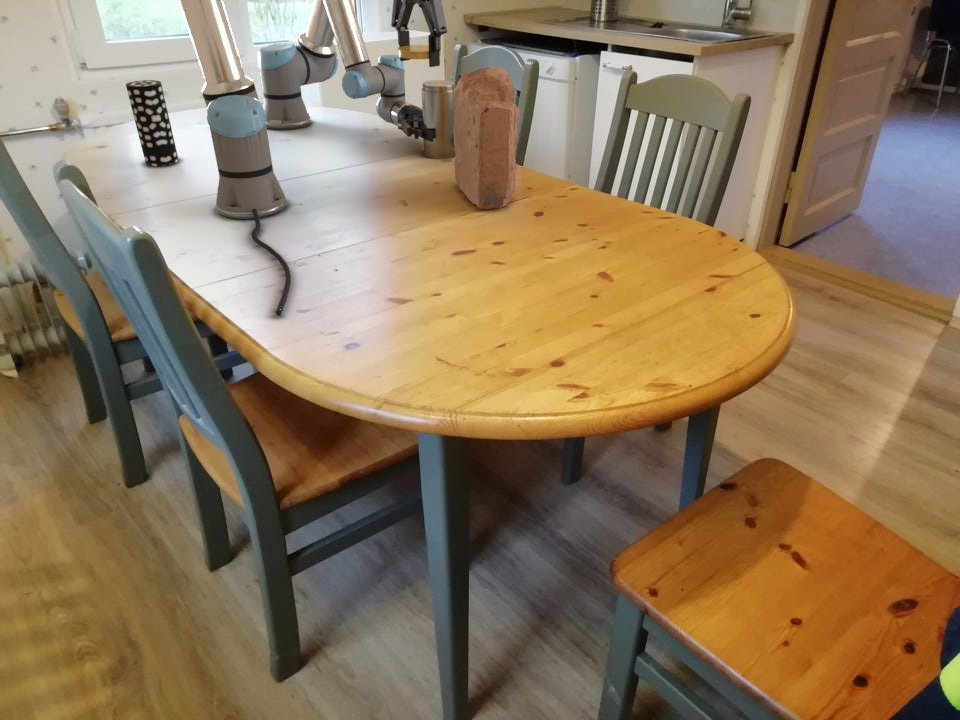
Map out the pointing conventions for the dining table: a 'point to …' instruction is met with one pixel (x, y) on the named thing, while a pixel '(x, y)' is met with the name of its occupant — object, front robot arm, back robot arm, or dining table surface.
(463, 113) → the stone
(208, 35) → the front robot arm
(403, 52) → the lid
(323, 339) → the dining table surface
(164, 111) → the black white spotted cylinder
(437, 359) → the dining table surface
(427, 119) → the jar
